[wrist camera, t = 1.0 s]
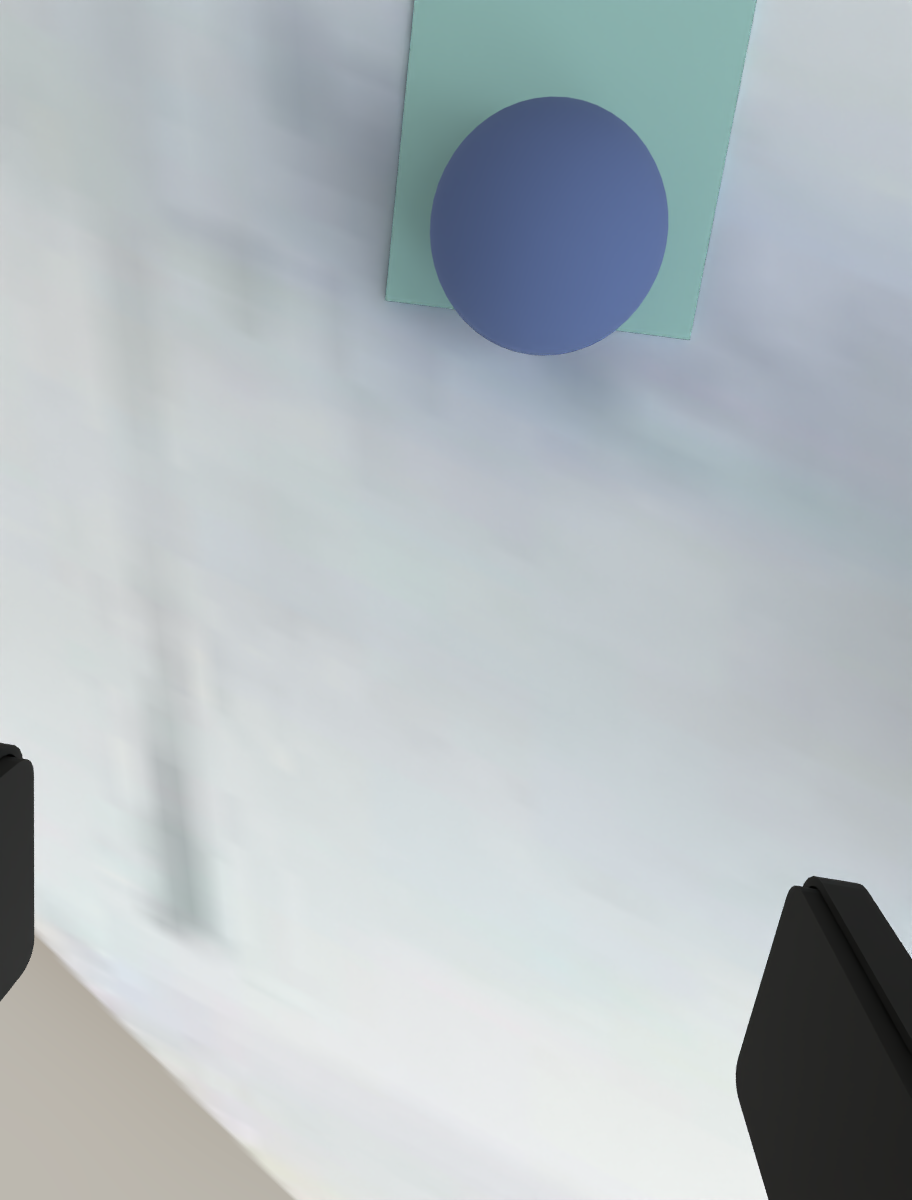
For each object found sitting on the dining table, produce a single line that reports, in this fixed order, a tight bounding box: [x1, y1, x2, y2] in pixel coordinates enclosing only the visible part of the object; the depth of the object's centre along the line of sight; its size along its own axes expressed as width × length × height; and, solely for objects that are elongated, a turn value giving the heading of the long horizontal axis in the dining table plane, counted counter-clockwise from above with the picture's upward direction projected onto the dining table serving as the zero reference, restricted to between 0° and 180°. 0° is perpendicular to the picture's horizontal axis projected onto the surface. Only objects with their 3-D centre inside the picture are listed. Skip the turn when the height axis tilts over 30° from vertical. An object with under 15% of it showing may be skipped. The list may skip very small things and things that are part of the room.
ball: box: [430, 96, 668, 355], centre depth 22 cm, size 6×6×6 cm
